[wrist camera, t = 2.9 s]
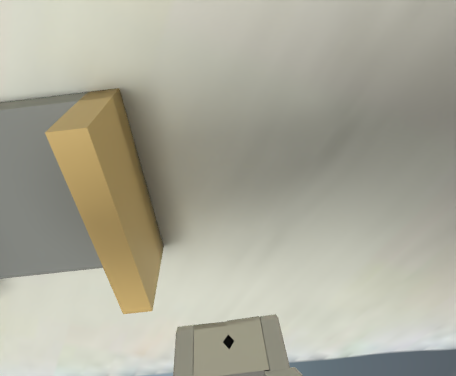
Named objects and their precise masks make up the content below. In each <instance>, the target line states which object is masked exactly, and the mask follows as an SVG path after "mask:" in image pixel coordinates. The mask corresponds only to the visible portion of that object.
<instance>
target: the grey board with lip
mask: <svg viewBox="0 0 456 376" xmlns="http://www.w3.org/2000/svg"><path fill="white" fill-rule="evenodd" d="M163 247H164V246H163V242H162V239H161V235H160V232H159V228H158V224H157V221H156V217H155V214H154V210H153V207H152V203H151V200H150V196H149V192H148V189H147V185H146V182H145V178H144V175H143V171H142V168H141V164H140V161H139V157H138V153H137V150H136V146H135V143H134V139H133V136H132V132H131V129H130V125H129V122H128V118H127V114H126V111H125V107H124V104H123V100H122V97H121V93H120V90H119V88H118V89H109V90H101V91H93V92H84V93H76V94H68V95H59V96H51V97H43V98H34V99H26V100H17V101H9V102H1V103H0V279H3V278H12V277H21V276H30V275H40V274H49V273H58V272H67V271H77V270H86V269H95V268H104V271H105V273H106V275H107V278H108V280H109V282H110V285H111V287H112V289H113V291H114V294H115V296H116V298H117V301H118V303H119V305H120V308H121V310H122V312H123V314H128V313H138V312H147V311H152V310H153V304H154V299H155V293H156V287H157V281H158V276H159V270H160V264H161V259H162V253H163Z"/></svg>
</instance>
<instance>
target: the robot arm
mask: <svg viewBox="0 0 456 376" xmlns="http://www.w3.org/2000/svg"><path fill="white" fill-rule="evenodd" d="M173 376H303V375H302V374H301V373H300V372H299V371H298V370H297V369H296V368H294V367H293V368H290V366H289V362H288V357H287V353H286V349H285V345H284V341H283V336H282V332H281V328H280V324H279V320H278V317H277V315H276V314H274V315H267V316H261V317H259V316H256V317H250V318H243V319H236V320H229V321H226V322H217V323H208V324H199V325H189V326H181V327H178V328H177V332H176V342H175V357H174V372H173Z"/></svg>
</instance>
